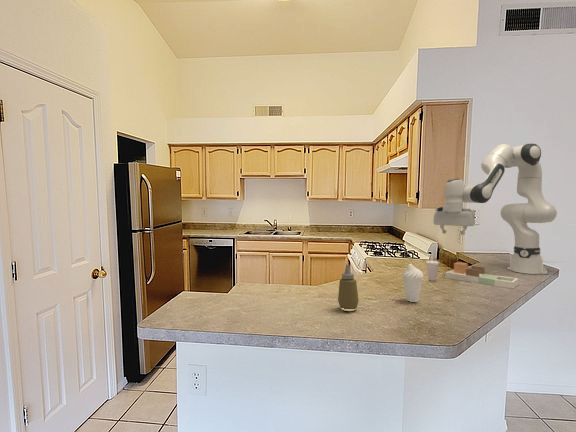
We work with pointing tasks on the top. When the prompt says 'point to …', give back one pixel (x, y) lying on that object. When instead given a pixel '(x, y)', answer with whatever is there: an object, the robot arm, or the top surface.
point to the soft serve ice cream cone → (412, 283)
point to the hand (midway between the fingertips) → (453, 233)
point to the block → (460, 267)
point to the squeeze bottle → (348, 290)
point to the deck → (483, 277)
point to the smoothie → (432, 269)
